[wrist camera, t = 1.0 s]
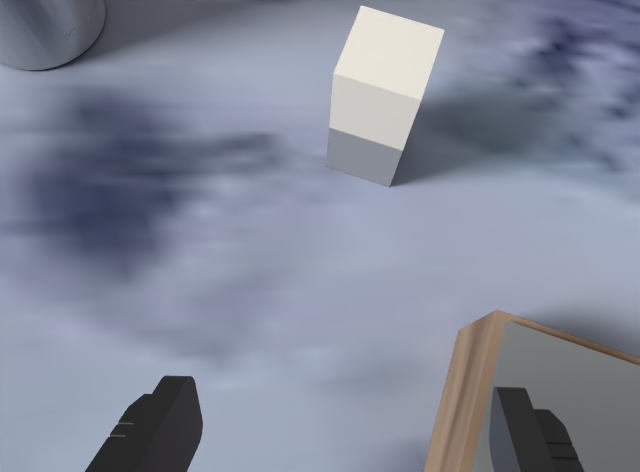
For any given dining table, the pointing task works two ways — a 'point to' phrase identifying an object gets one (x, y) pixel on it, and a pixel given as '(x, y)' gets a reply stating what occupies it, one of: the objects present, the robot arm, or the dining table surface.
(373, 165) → the block
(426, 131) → the dining table surface
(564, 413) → the walnut stand
